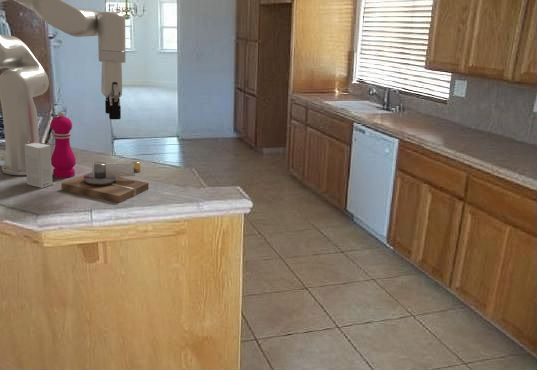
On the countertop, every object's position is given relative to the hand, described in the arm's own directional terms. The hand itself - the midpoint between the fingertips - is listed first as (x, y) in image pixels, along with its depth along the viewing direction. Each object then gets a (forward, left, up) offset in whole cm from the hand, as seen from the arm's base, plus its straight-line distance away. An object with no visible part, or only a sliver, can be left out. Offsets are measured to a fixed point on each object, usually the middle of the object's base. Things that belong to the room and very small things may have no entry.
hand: (112, 115), depth 156 cm
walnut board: (+4, -9, -20) cm, 22 cm away
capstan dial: (+5, -7, -18) cm, 20 cm away
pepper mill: (-15, -5, -20) cm, 26 cm away
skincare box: (-14, -16, -20) cm, 29 cm away
